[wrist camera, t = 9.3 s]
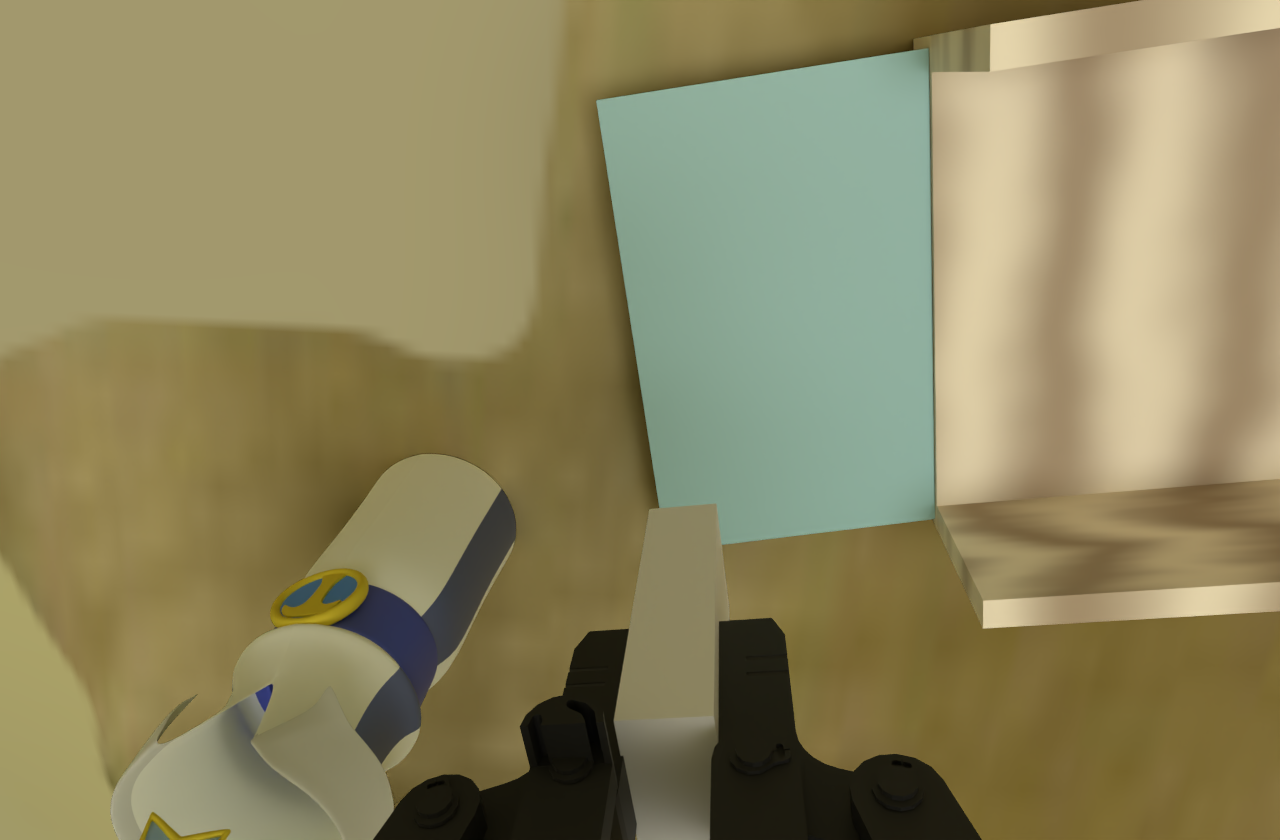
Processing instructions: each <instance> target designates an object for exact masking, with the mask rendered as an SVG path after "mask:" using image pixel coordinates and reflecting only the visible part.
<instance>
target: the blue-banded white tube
mask: <svg viewBox="0 0 1280 840" xmlns="http://www.w3.org/2000/svg"><path fill="white" fill-rule="evenodd" d="M515 537H516V521H515V516H514V512H513V509H512V506H511V504H510V502H509V500H508V498H507V496H506V494H505V493H504V491H503V490H502V489H501V487H500V486H499V485H498V484H497V483H496V482H495V481H494V480H493V479H492V478H491V477H490V476H489V475H488V474H487V473H485V472H484V471H483V470H481V469H480V468H478V467H476V466H475V465H473V464H471V463H469V462H467V461H464V460H462V459H459V458H456V457H452V456H447V455H441V454H420V455H416V456H412V457H409V458H406V459H403V460H401V461H399V462H397V463H396V464H394V465H393V466H391V467H390V468H389V469H387V470H386V471H385V472H384V473H383V474H382V476H381V477H380V478H379V479H378V481H377V482H376V484H375V485H374V487H373V488H372V489H371V491H370V492H369V494H368V495H367V497H366V498H365V499H364V501H363V502H362V504H361V505H360V506H359V508H358V509H357V510H356V512H355V513H354V515H353V516H352V517H351V519H350V520H349V521H348V523H347V524H346V525H345V526H344V528H343V529H342V530H341V532H340V533H339V534H338V535H337V537H336V538H335V539H334V540H333V542H332V543H331V544H330V545H329V546H328V548H327V549H326V550H325V551H324V553H323V554H322V555H321V556H320V558H319V559H318V560H317V561H316V563H315V564H314V565H313V567H312V568H311V569H310V570H309V572H308V573H307V575H306V576H305V578H304V579H302V580H300V581H298V582H296V583H295V584H293V585H292V586H290V587H289V588H287V589H286V590H285V591H283V592H282V593H281V594H280V595H279V596H278V597H277V599H276V600H275V601H274V603H273V605H272V607H271V610H270V617H271V621H272V623H273V624H274V626H275V629H273V630H271V631H269V632H266V633H265V634H263V635H261V636H259V637H258V638H256V639H255V640H254V641H253V642H252V643H251V644H250V645H249V646H248V647H247V648H246V649H245V650H244V652H243V653H242V655H241V656H240V658H239V659H238V661H237V664H236V666H235V669H234V673H233V680H232V695H231V697H230V699H229V701H228V703H227V705H226V706H225V707H224V708H223V709H222V710H221V711H219V712H218V713H217V714H215V715H214V716H212V717H211V718H209V719H207V720H206V721H204V722H203V723H201V724H199V725H198V726H196V727H194V728H193V729H191V730H189V731H188V732H186V733H184V734H182V735H181V736H179V737H177V738H175V739H173V740H171V741H168V742H166V743H164V744H159V743H157V741H158V740H159V738H160V737H161V735H162V734H163V732H164V731H165V730H166V729H167V727H168V726H169V725H170V724H171V723H172V721H173V720H174V719H175V718H176V717H177V716H178V715H179V714H180V713H181V712H182V710H183V709H184V708H185V707H186V706H187V705H188V704H189V703H190V702H191V701H192V700H193V699H194V698H195V697H196V696H197V695H198V694H197V695H195V696H194V697H192V698H190V699H188V700H186V701H184V702H182V703H181V704H179V705H178V706H177V707H176V708H175V709H174V710H173V711H172V712H171V713H170V714H169V715H168V716H167V717H166V718H165V719H164V720H163V722H162V723H161V724H160V725H159V726H158V727H157V729H156V730H155V731H154V732H153V734H152V735H151V736H150V738H149V739H148V740H147V742H146V743H145V744H144V746H143V747H142V748H141V750H140V751H139V753H138V754H137V756H136V757H135V758H134V760H133V761H132V762H131V764H130V765H129V767H128V768H127V769H126V771H125V772H124V773H123V775H122V777H121V778H120V780H119V781H118V783H117V785H116V787H115V790H114V792H113V795H112V799H111V820H112V824H113V827H114V830H115V833H116V835H117V837H118V839H119V840H373V839H374V837H375V836H376V835H377V833H378V832H379V830H380V829H381V828H382V826H383V825H384V823H385V822H386V821H387V819H388V818H389V816H390V815H391V814H392V812H393V811H394V805H393V797H392V792H391V788H390V784H389V781H388V778H387V775H386V773H385V771H387V770H389V769H391V768H392V767H394V766H396V765H397V764H398V763H400V762H401V761H402V760H403V759H404V758H405V757H406V756H407V755H408V753H409V752H410V751H411V749H412V748H413V746H414V744H415V742H416V740H417V738H418V735H419V731H420V727H421V709H420V706H421V704H422V702H423V700H424V698H425V696H426V694H427V692H428V690H429V689H430V688H432V687H433V686H434V685H435V684H436V683H437V682H438V681H439V680H440V679H441V678H442V676H443V675H444V674H445V673H446V672H447V670H448V669H449V667H450V666H451V664H452V663H453V661H454V659H455V658H456V656H457V654H458V652H459V651H460V649H461V647H462V645H463V643H464V641H465V639H466V637H467V635H468V632H469V630H470V628H471V626H472V624H473V622H474V620H475V618H476V616H477V614H478V612H479V610H480V608H481V606H482V604H483V602H484V600H485V598H486V596H487V594H488V593H489V591H490V589H491V587H492V585H493V583H494V582H495V580H496V578H497V576H498V575H499V573H500V571H501V569H502V568H503V566H504V564H505V563H506V561H507V559H508V557H509V555H510V554H511V551H512V549H513V546H514V543H515Z"/></svg>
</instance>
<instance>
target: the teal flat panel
mask: <svg viewBox="0 0 1280 840" xmlns="http://www.w3.org/2000/svg"><path fill="white" fill-rule="evenodd" d="M596 102H597V109H598V115H599V122H600V128H601V134H602V141H603V147H604V154H605V160H606V167H607V173H608V180H609V186H610V192H611V199H612V205H613V212H614V218H615V225H616V231H617V238H618V244H619V251H620V257H621V263H622V270H623V276H624V283H625V289H626V296H627V302H628V309H629V315H630V322H631V328H632V334H633V341H634V347H635V354H636V360H637V367H638V373H639V380H640V386H641V392H642V399H643V405H644V412H645V418H646V425H647V431H648V438H649V444H650V451H651V457H652V463H653V470H654V476H655V483H656V489H657V496H658V502H659V508H669V507H680V506H692V505H704V504H717V512H718V520H719V528H720V536H721V544H722V545H724V544H732V543H740V542H749V541H757V540H765V539H773V538H782V537H790V536H798V535H806V534H815V533H823V532H831V531H839V530H847V529H856V528H864V527H872V526H880V525H889V524H897V523H905V522H913V521H922V520H930V519H935V484H934V407H933V330H932V253H931V176H930V100H929V48H926V49H918V50H912V51H906V52H899V53H893V54H887V55H880V56H874V57H868V58H861V59H855V60H848V61H842V62H836V63H829V64H823V65H817V66H810V67H804V68H798V69H791V70H785V71H779V72H772V73H766V74H759V75H753V76H747V77H740V78H734V79H728V80H721V81H715V82H709V83H702V84H696V85H690V86H683V87H677V88H671V89H664V90H658V91H651V92H645V93H639V94H632V95H626V96H620V97H613V98H607V99H601V100H596Z"/></svg>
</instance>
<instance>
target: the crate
mask: <svg viewBox="0 0 1280 840" xmlns="http://www.w3.org/2000/svg"><path fill="white" fill-rule="evenodd" d="M913 45H914V50H918V49H926V48H929V100H930V176H931V253H932V330H933V407H934V484H935V519H932V520H933V522H934V524H935V526H936V528H937V531H938V533H939V535H940V537H941V539H942V541H943V544H944V546H945V548H946V550H947V552H948V554H949V556H950V559H951V561H952V563H953V565H954V567H955V569H956V572H957V574H958V576H959V578H960V580H961V582H962V584H963V587H964V589H965V591H966V593H967V595H968V597H969V599H970V602H971V604H972V606H973V608H974V610H975V612H976V615H977V617H978V619H979V621H980V623H981V625H982V627H983V628H998V627H1016V626H1033V625H1050V624H1067V623H1084V622H1101V621H1118V620H1135V619H1152V618H1169V617H1186V616H1203V615H1221V614H1238V613H1255V612H1272V611H1280V0H1141V1H1134V2H1128V3H1122V4H1115V5H1109V6H1103V7H1097V8H1090V9H1084V10H1078V11H1071V12H1065V13H1059V14H1052V15H1046V16H1040V17H1034V18H1027V19H1021V20H1015V21H1008V22H1002V23H996V24H990V25H984V26H979V27H974V28H968V29H963V30H957V31H952V32H947V33H941V34H936V35H931V36H925V37H920V38H914V39H913Z"/></svg>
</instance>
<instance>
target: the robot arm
mask: <svg viewBox="0 0 1280 840" xmlns="http://www.w3.org/2000/svg"><path fill="white" fill-rule="evenodd" d="M520 729H521V733H522V737H523V741H524V745H525V749H526V753H527V757H528V761H529V765H530V770H529V772H528V773H526V774H525V775H523V776H521V777H520V778H518V779H515V780H513V781H510V782H508V783H505V784H502V785H499V786H495V787H492V788H489V789H486V790H483V791H479V788H478V787H477V786H476V785H475V783H474V782H473V781H472V780H471V779H469V778H466V777H464V776H461V775H441V776H438V777H435V778H431V779H428V780H426V781H425V782H423V783H421V784H420V785H418V786H416V787H415V788H413V789H412V790H411V791H410V792H409V793H408V794H407V795H406V796H405V797H404V798H403V799H402V800H401V801H400V803H399V804H398V805H397V807H396V808H395V810H394V811H393V812H392V814H391V815H390V816H389V818H388V819H387V821H386V822H385V823H384V825H383V826H382V828H381V829H380V830H379V832H378V833H377V835H376V836H375V837H374V839H373V840H635V836H637V840H982V839H981V838H980V836H979V835H978V833H977V832H976V830H975V829H974V827H973V825H972V824H971V822H970V821H969V819H968V818H967V816H966V815H965V813H964V811H963V810H962V808H961V807H960V805H959V804H958V802H957V801H956V799H955V797H954V796H953V794H952V793H951V791H950V790H949V788H948V786H947V785H946V783H945V782H944V780H943V779H942V778H941V777H940V776H939V775H938V774H937V773H936V771H935V770H934V769H933V768H932V767H931V766H929V765H927V764H925V763H923V762H921V761H920V760H918V759H916V758H913V757H908V756H903V755H899V754H889V755H878V756H876V757H873V758H871V759H868V760H866V761H864V762H863V763H862V764H861V765H860V766H859V767H858V768H857V769H856V770H855V771H854V772H853V771H848V770H844V769H839V768H836V767H833V766H830V765H827V764H824V763H822V762H820V761H819V760H817V759H815V758H813V757H812V756H811V755H810V754H809V753H808V752H807V751H805V750H804V748H803V747H802V745H801V744H800V742H799V741H798V737H797V734H796V730H795V721H794V712H793V703H792V694H791V685H790V676H789V668H788V659H787V650H786V641H785V634H784V633H783V632H782V630H781V629H780V628H779V627H778V625H777V624H776V623H775V621H774V620H773V619H772V618H763V619H748V620H732V621H730V617H729V600H728V592H727V584H726V576H725V568H724V560H723V552H722V544H721V536H720V528H719V520H718V512H717V504H704V505H692V506H680V507H669V508H657V509H649V514H648V520H647V526H646V532H645V538H644V544H643V550H642V556H641V562H640V568H639V573H638V579H637V585H636V591H635V597H634V603H633V609H632V615H631V621H630V627H629V629H621V630H606V631H590V632H589V633H588V634H587V635H586V636H585V637H584V639H583V640H582V641H581V642H580V643H579V645H578V646H577V647H576V648H575V650H574V653H573V657H572V661H571V665H570V672H569V673H568V677H567V680H566V688H564V692H563V696H558V697H553V698H551V699H549V700H546V701H544V702H542V703H540V704H538V705H537V706H536V707H535V708H533V709H532V710H531V711H530V712H529V713H528V714H527V715H526V716H525V718H524V720H523V722H522V723H521V725H520Z"/></svg>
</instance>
